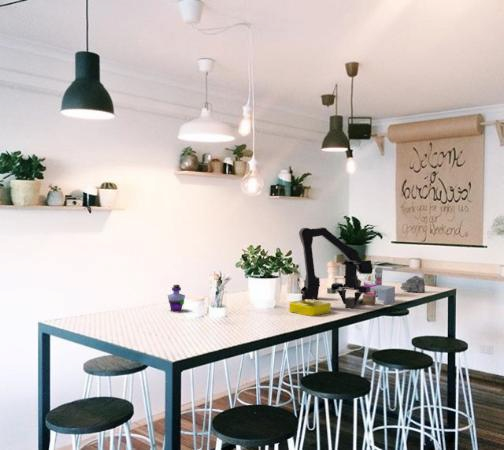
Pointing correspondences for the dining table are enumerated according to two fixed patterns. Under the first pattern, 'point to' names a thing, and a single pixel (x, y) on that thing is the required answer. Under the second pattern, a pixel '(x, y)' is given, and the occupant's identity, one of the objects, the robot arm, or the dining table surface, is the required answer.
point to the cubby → (385, 293)
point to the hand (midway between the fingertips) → (350, 305)
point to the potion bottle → (176, 299)
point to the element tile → (309, 307)
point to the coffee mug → (315, 293)
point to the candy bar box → (373, 280)
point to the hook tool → (352, 302)
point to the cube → (369, 300)
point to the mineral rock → (414, 285)
